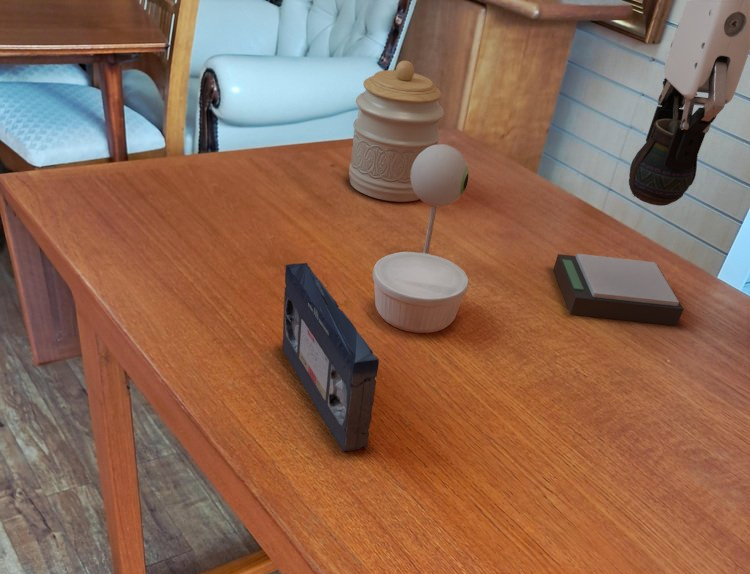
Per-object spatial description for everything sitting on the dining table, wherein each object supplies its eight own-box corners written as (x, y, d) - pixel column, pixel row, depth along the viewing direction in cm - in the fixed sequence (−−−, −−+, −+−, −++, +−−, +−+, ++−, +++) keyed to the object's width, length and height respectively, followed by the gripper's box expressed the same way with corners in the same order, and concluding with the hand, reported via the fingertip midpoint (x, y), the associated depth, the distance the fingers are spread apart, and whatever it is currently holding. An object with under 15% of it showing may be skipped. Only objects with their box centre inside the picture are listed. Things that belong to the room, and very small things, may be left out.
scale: (651, 281, 109) (659, 260, 107) (676, 325, 100) (686, 304, 98) (553, 270, 108) (559, 249, 106) (570, 314, 99) (577, 292, 97)
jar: (330, 178, 122) (341, 51, 110) (390, 165, 130) (406, 45, 118) (387, 210, 116) (405, 79, 104) (447, 194, 123) (470, 70, 111)
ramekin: (391, 344, 89) (398, 302, 85) (353, 295, 96) (357, 255, 92) (477, 333, 93) (487, 292, 89) (434, 287, 100) (441, 247, 96)
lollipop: (442, 280, 102) (466, 161, 92) (390, 266, 103) (408, 147, 93) (456, 258, 107) (479, 144, 97) (406, 245, 108) (424, 131, 98)
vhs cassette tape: (280, 348, 85) (284, 262, 79) (306, 346, 86) (313, 260, 80) (338, 455, 73) (349, 364, 67) (367, 450, 74) (381, 360, 68)
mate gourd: (637, 211, 90) (671, 120, 83) (610, 181, 95) (641, 92, 88) (693, 212, 91) (731, 123, 84) (664, 182, 96) (698, 96, 89)
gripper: (808, -9, 71) (725, 189, 83) (739, -42, 84) (676, 134, 96) (729, -21, 71) (657, 181, 83) (671, -52, 83) (616, 126, 95)
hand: (668, 154), depth 89 cm, fingers closed on mate gourd, 6 cm apart
